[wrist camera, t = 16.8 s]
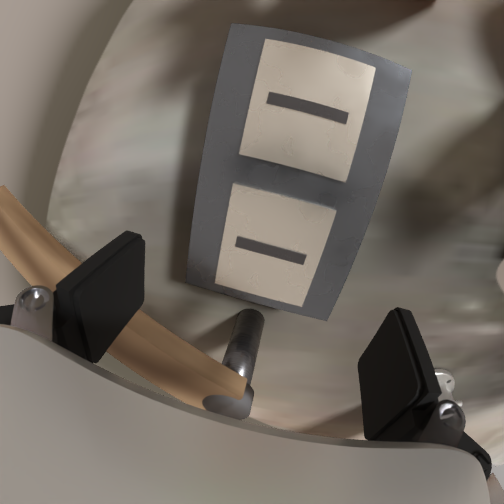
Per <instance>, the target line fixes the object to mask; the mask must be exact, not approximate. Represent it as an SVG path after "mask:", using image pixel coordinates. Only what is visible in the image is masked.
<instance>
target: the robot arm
mask: <svg viewBox="0 0 504 504" xmlns="http://www.w3.org/2000/svg"><path fill="white" fill-rule="evenodd" d="M144 265H145V240H143V239H142V236H141V235H140V234H137V233H134V232H130V231H125V232H124V233H122V234H121V235H119V236H118V237H117V238H115V239H114V240H112V241H111V242H110V243H108V244H107V245H106V246H104V247H103V248H102V249H100V250H99V251H98V252H96V253H95V254H94V255H92V256H91V257H90V258H88V259H87V260H86V261H85V262H83V263H82V264H81V265H79V266H78V267H77V268H76V269H74V270H73V271H72V272H71V273H69V274H68V275H67V276H66V277H64V278H63V279H62V280H61V281H60V282H58V283H57V284H56V290H55V291H54V292H52V291H51V290H50V289H49V288H48V287H45V286H42V285H35V286H30V287H28V288H25V289H24V290H22V291H21V292H20V293H19V294H18V295H17V297H16V300H15V304H14V305H7V306H0V504H504V490H503V489H502V487H501V485H500V483H499V482H498V480H497V479H496V477H495V475H494V474H493V473H492V474H490V473H491V468H492V467H491V466H492V463H491V458H490V456H489V454H488V453H487V452H486V451H485V450H484V449H483V448H482V447H481V446H479V445H478V444H477V443H476V442H475V441H474V440H473V439H472V438H471V437H469V436H468V435H467V434H466V433H465V432H464V428H465V423H466V420H465V415H464V413H463V411H462V409H461V408H460V407H461V406H462V401H461V400H454V399H453V396H452V391H453V389H454V386H455V382H454V378H453V376H452V374H451V373H450V372H449V371H446V370H443V369H434V367H433V365H432V362H431V359H430V357H429V354H428V351H427V349H426V346H425V344H424V341H423V339H422V336H421V334H420V331H419V329H418V326H417V324H416V322H415V319H414V317H413V315H412V312H411V311H410V310H406V309H402V308H399V307H397V308H395V309H394V310H391V311H390V312H389V313H388V315H387V316H386V318H385V320H384V321H383V323H382V325H381V326H380V328H379V330H378V331H377V333H376V334H375V336H374V338H373V339H372V341H371V342H370V344H369V345H368V347H367V348H366V350H365V351H364V353H363V354H362V356H361V357H360V359H359V362H358V373H359V382H360V391H361V401H362V411H363V424H364V436H365V439H368V440H354V439H343V438H333V437H325V436H318V435H311V434H304V433H298V432H293V431H287V430H282V429H277V428H272V427H267V426H263V425H258V424H254V423H250V422H245V421H242V420H238V419H234V418H231V417H227V416H223V415H220V414H217V413H213V412H210V411H207V410H204V409H201V408H198V407H194V406H192V405H189V404H186V403H183V402H180V401H177V400H174V399H172V398H169V397H166V396H164V395H161V394H159V393H156V392H154V391H151V390H149V389H146V388H144V387H142V386H139V385H137V384H134V383H132V382H130V381H128V380H126V379H124V378H121V377H119V376H117V375H115V374H113V373H111V372H109V371H107V370H105V369H103V368H101V367H99V366H97V365H94V364H93V362H94V363H97V362H98V361H99V360H100V359H101V357H102V356H103V355H104V353H105V352H106V351H107V349H108V348H109V347H110V346H111V344H112V343H113V342H114V340H115V339H116V338H117V336H118V335H119V334H120V332H121V331H122V330H123V329H124V327H125V326H126V325H127V323H128V322H129V321H130V320H131V318H132V317H133V316H134V315H135V313H136V312H137V311H138V310H139V308H140V307H141V306H142V304H143V301H144Z"/></svg>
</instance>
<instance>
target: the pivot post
mask: <svg viewBox="0 0 504 504" xmlns="http://www.w3.org/2000/svg"><path fill="white" fill-rule="evenodd" d="M263 326H264V317H263V315H262V314H261V313H260V312H259V311H257V310H254V309H245V310H242V311H241V312H240V313H239V315H238V318H237V321H236V323H235V326H234V329H233V332H232V335H231V338H230V341H229V344H228V347H227V350H226V353H225V356H224V359H223V361H222V365H224V366H226V367H227V368H229V369H231V370H233V371H234V372H236V373H238V374H240V375H241V376H243V377H245V378H247V384H249V385H250V384H251V379H252V375H253V371H254V366H255V362H256V357H257V353H258V348H259V344H260V339H261V335H262V330H263Z"/></svg>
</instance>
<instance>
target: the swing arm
mask: <svg viewBox="0 0 504 504" xmlns="http://www.w3.org/2000/svg"><path fill="white" fill-rule="evenodd" d="M0 250H1V251H2V252H3V254H4V255H5V256H6V257H7V258H8V259H9V261H10V262H11V263H12V264H13V265H14V267H15V268H16V269H17V270H18V271H19V272H20V273H21V274H22V275H23V277H25V279H26V280H27V281H28V282H29V283H30V284H31V285H32V286H35V285H42V286H45V287H48V288H49V289H50V290H51V291H52V292H54V291H55V290H56V284H57V283H58V282H60V281H61V280H62V279H63V278H64V277H66V276H67V275H68V274H69V273H71V272H72V271H73V270H74V269H76V268H77V267H78V266H79V265H81V264H82V263H81V262H80V261H79V260H78V259H77V258H75V257H74V256H73V255H72V254H71V253H70V252H69V251H68V250H67V249H66V248H64V247H63V246H62V245H61V244H60V243H59V242H58V241H57V240H56V239H55V238H54V237H53V236H52V235H51V234H50V233H49V232H48V231H47V230H46V229H45V228H44V227H43V226H41V224H40V223H39V222H38V221H37V220H35V218H34V217H33V216H32V215H31V214H30V213H29V212H28V211H27V210H26V209H25V208H24V207H23V206H22V205H21V204H20V202H19V201H18V200H17V199H16V198H15V197H14V196H13V195H12V194H11V193H10V191H9V190H8V189H7V188H6V187H5V186H4V185H3V186H1V187H0ZM107 352H108V353H109V354H111V355H112V356H113V357H115V358H116V359H117V360H119V361H120V362H121V363H123V364H124V365H126V366H127V367H129V368H130V369H131V370H133V371H134V372H136V373H137V374H139V375H140V376H142V377H143V378H145V379H146V380H148V381H150V382H151V383H153V384H154V385H156V386H158V387H159V388H161V389H162V390H164V391H166V392H167V393H169V394H171V395H172V396H174V397H176V398H178V399H179V400H181V401H183V402H185V403H186V404H189V405H192V406H194V407H198V408H201V409H204V410H207V411H210V412H213V413H217V414H220V415H223V416H227V417H231V418H234V419H238V420H242V419H245V418H247V417H248V416H249V414H250V410H251V406H252V401H253V397H254V391H253V389H252V387H251V386H250V385H249V384H247V378H245V377H243V376H241V375H240V374H238V373H236V372H234V371H233V370H231V369H229V368H227V367H226V366H224V365H222V364H221V363H219V362H217V361H216V360H214V359H212V358H211V357H209V356H208V355H206V354H204V353H203V352H201V351H200V350H198V349H196V348H195V347H193V346H192V345H190V344H189V343H187V342H185V341H184V340H182V339H181V338H179V337H178V336H176V335H175V334H173V333H172V332H171V331H169V330H168V329H166V328H165V327H163V326H162V325H160V324H159V323H158V322H156V321H155V320H153V319H152V318H151V317H149V316H148V315H146V314H145V313H144V312H142V311H141V310H140V309H139V310H138V311H137V312H136V313H135V315H134V316H133V317H132V318H131V320H130V321H129V322H128V323H127V325H126V326H125V327H124V329H123V330H122V331H121V332H120V334H119V335H118V336H117V338H116V339H115V340H114V342H113V343H112V344H111V346H110V347H109V348H108V349H107Z"/></svg>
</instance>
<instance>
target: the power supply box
mask: <svg viewBox="0 0 504 504" xmlns="http://www.w3.org/2000/svg"><path fill="white" fill-rule="evenodd" d="M411 74H412V70H410V69H408V68H406V67H404V66H401V65H399V64H397V63H394V62H392V61H390V60H387V59H385V58H382V57H379V56H377V55H374V54H371V53H369V52H366V51H363V50H360V49H357V48H354V47H351V46H348V45H345V44H341V43H338V42H334V41H331V40H327V39H323V38H319V37H315V36H311V35H307V34H302V33H298V32H293V31H287V30H282V29H276V28H270V27H263V26H255V25H246V24H236V23H231V26H230V30H229V34H228V38H227V41H226V45H225V49H224V53H223V57H222V61H221V66H220V70H219V74H218V79H217V83H216V88H215V92H214V97H213V102H212V106H211V111H210V116H209V121H208V127H207V132H206V137H205V143H204V148H203V154H202V160H201V166H200V172H199V178H198V185H197V191H196V198H195V205H194V212H193V220H192V228H191V236H190V244H189V253H188V262H187V272H186V282H185V283H188V284H192V285H195V286H198V287H202V288H205V289H208V290H212V291H215V292H218V293H222V294H225V295H229V296H232V297H236V298H239V299H243V300H247V301H250V302H254V303H258V304H261V305H265V306H269V307H272V308H276V309H280V310H284V311H288V312H292V313H296V314H300V315H304V316H308V317H312V318H316V319H320V320H324V321H327V320H328V318H329V316H330V314H331V312H332V310H333V307H334V305H335V303H336V301H337V299H338V297H339V294H340V292H341V290H342V288H343V285H344V283H345V281H346V279H347V276H348V274H349V272H350V269H351V267H352V265H353V262H354V260H355V257H356V255H357V252H358V250H359V248H360V245H361V242H362V240H363V237H364V235H365V232H366V230H367V227H368V224H369V222H370V219H371V216H372V213H373V211H374V208H375V205H376V202H377V199H378V196H379V193H380V190H381V187H382V184H383V181H384V178H385V175H386V172H387V169H388V165H389V162H390V159H391V155H392V152H393V149H394V145H395V141H396V138H397V134H398V130H399V127H400V123H401V119H402V115H403V111H404V106H405V102H406V98H407V93H408V88H409V84H410V79H411Z"/></svg>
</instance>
